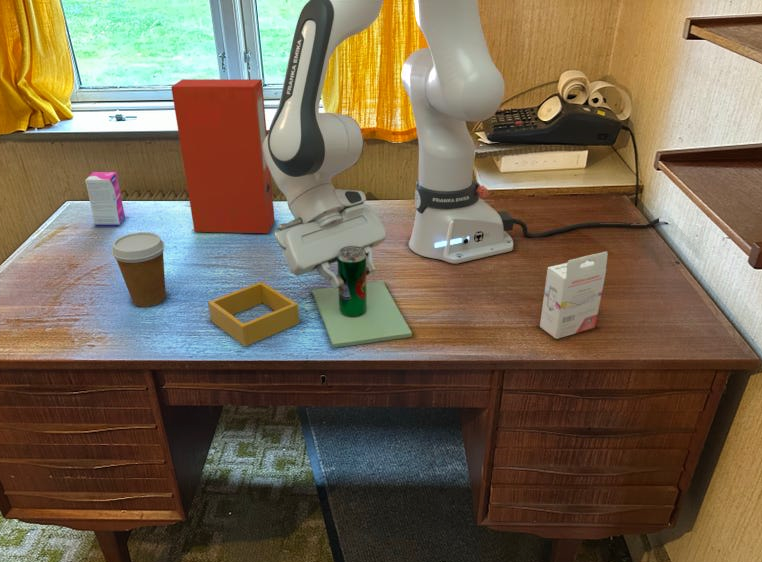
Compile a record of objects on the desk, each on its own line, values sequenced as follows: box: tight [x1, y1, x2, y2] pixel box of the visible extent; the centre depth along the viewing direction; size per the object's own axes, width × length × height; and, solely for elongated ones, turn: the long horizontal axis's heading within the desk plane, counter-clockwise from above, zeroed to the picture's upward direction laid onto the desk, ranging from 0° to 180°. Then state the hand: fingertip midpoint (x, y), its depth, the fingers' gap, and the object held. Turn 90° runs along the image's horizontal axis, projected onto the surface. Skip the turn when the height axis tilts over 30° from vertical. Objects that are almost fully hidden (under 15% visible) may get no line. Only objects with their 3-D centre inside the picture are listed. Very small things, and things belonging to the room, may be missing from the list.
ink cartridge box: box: [539, 251, 609, 340], centre depth 114 cm, size 9×5×15 cm, turn 114°
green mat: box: [312, 280, 413, 349], centre depth 124 cm, size 14×20×1 cm
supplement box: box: [84, 171, 126, 228], centre depth 160 cm, size 6×6×12 cm
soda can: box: [336, 246, 368, 317], centre depth 120 cm, size 5×5×12 cm
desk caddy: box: [207, 281, 301, 348], centre depth 121 cm, size 12×12×4 cm
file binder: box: [170, 78, 275, 234], centre depth 150 cm, size 8×17×32 cm, turn 84°
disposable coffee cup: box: [110, 231, 167, 308], centre depth 127 cm, size 10×10×12 cm
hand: (355, 279), depth 119 cm, fingers open, 6 cm apart
